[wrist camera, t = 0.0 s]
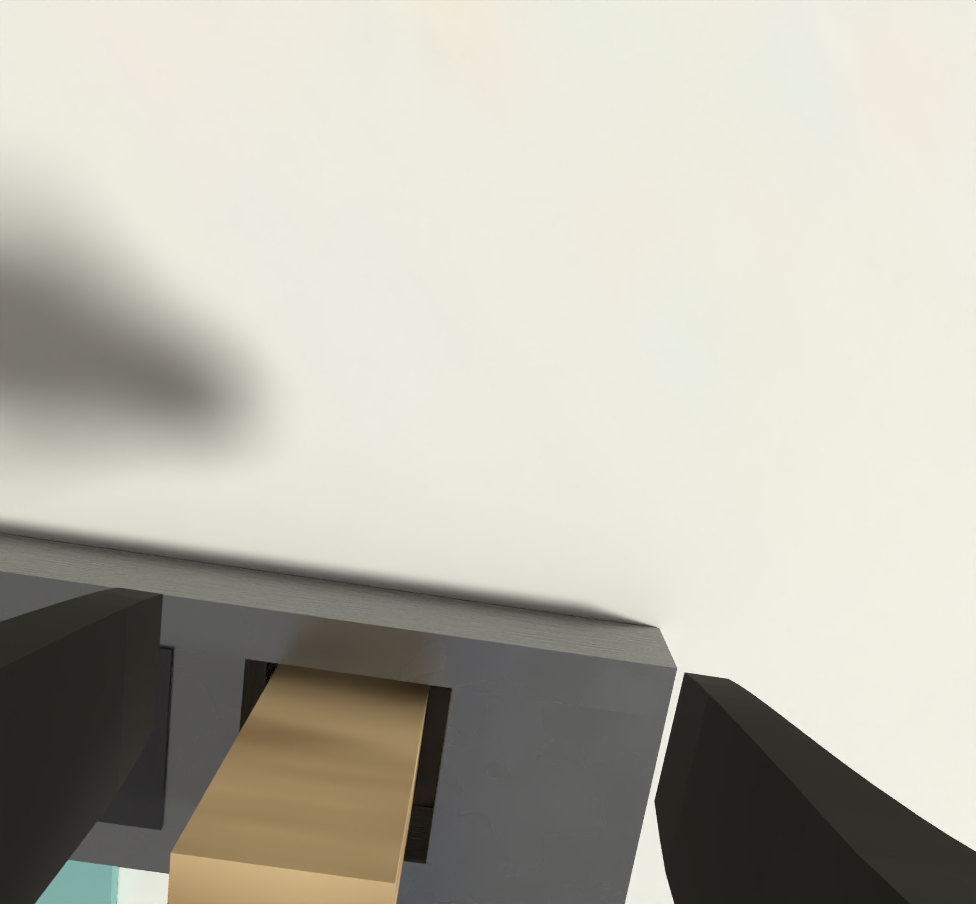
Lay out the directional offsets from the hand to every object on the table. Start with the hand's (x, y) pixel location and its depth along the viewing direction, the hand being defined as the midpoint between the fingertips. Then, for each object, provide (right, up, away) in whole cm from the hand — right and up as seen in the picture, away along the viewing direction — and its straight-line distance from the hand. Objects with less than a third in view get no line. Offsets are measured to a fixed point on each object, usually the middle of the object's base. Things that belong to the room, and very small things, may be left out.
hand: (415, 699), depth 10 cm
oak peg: (-3, -4, +11) cm, 12 cm away
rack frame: (-7, -4, +11) cm, 14 cm away
